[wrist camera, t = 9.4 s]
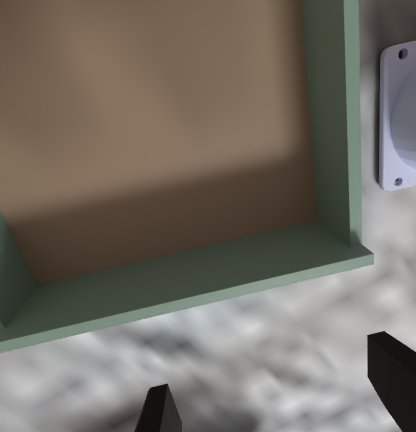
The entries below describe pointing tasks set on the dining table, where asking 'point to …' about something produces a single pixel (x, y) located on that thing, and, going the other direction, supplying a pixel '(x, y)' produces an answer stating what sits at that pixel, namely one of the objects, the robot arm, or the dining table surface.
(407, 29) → the dining table surface
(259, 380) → the dining table surface
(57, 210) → the green shallow tray
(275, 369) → the dining table surface
